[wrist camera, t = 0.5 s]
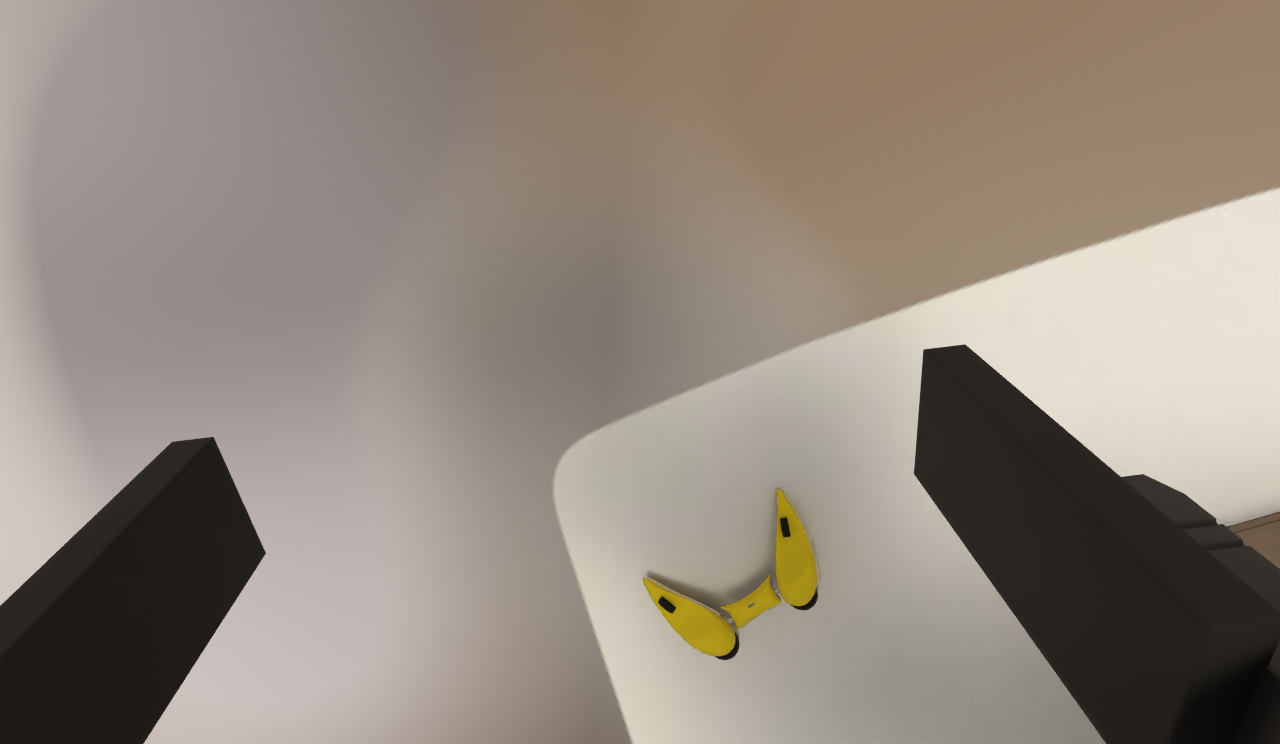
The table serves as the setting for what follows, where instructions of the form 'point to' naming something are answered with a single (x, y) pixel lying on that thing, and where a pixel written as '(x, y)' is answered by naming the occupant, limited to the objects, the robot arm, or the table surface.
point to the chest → (1262, 536)
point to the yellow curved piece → (793, 582)
